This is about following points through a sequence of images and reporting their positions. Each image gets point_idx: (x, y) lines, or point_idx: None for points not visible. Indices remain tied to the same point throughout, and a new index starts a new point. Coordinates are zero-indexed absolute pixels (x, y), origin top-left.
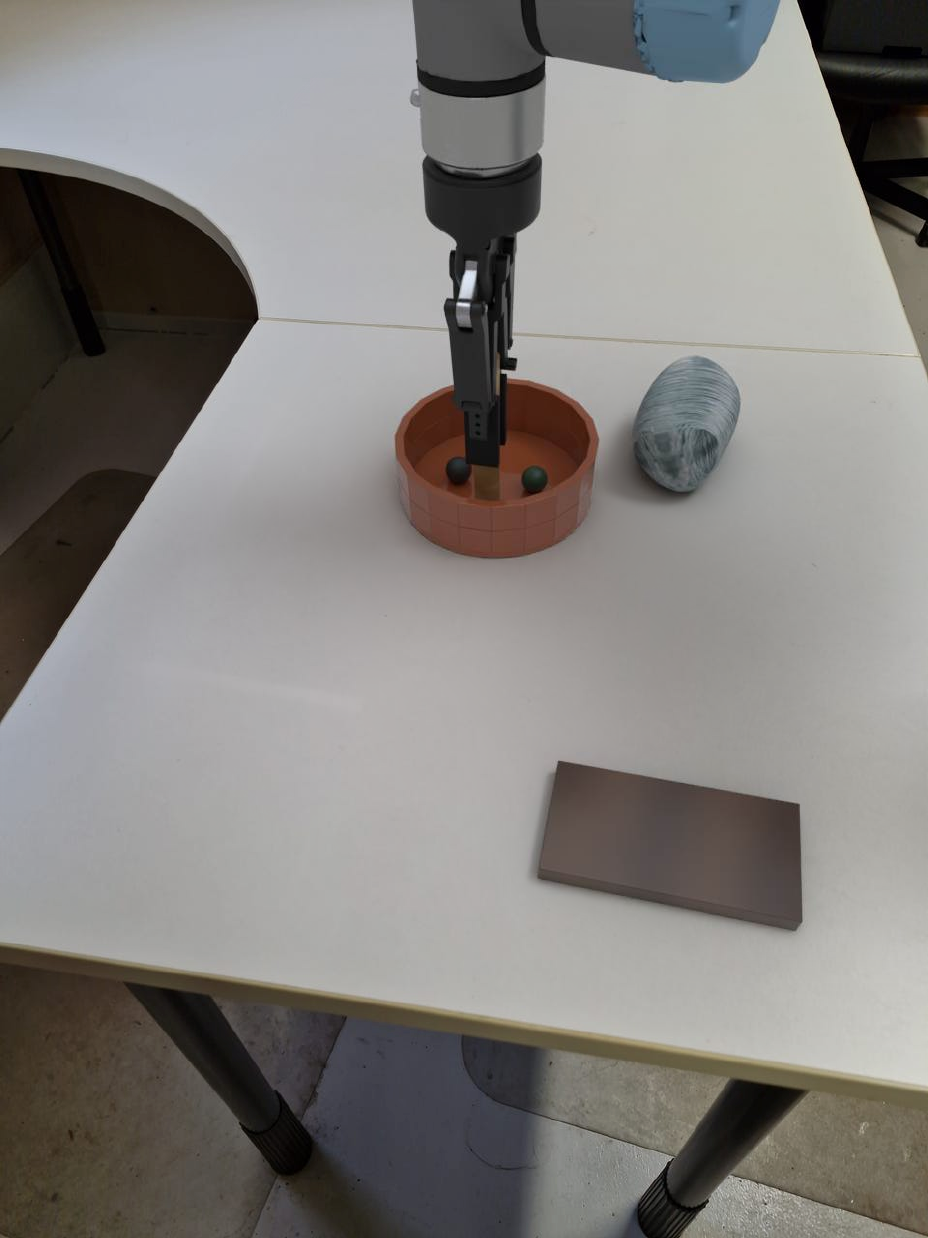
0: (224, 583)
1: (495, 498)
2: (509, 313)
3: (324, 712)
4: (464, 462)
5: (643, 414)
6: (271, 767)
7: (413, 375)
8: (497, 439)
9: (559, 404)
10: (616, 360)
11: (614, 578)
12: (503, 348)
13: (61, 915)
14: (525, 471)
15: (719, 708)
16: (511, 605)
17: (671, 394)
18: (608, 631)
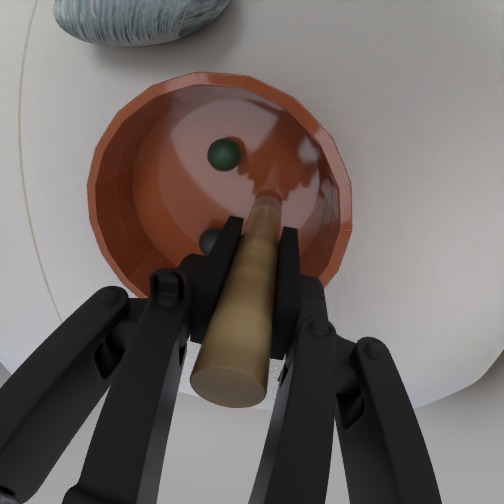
0: None
1: (277, 205)
2: (75, 361)
3: (449, 314)
4: (212, 241)
5: (141, 24)
6: (466, 330)
7: (84, 275)
8: (298, 255)
9: (117, 137)
10: (37, 99)
11: (365, 74)
12: (174, 346)
13: (479, 373)
14: (222, 168)
15: (484, 45)
16: (397, 184)
17: None
18: (429, 98)
